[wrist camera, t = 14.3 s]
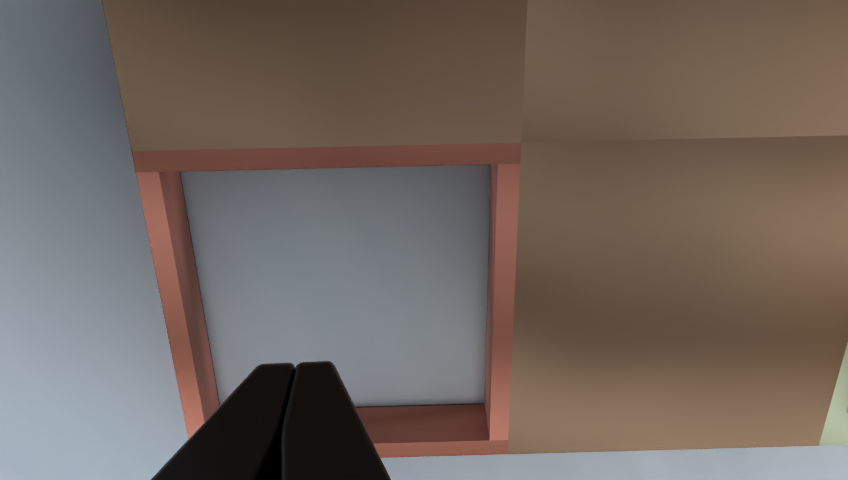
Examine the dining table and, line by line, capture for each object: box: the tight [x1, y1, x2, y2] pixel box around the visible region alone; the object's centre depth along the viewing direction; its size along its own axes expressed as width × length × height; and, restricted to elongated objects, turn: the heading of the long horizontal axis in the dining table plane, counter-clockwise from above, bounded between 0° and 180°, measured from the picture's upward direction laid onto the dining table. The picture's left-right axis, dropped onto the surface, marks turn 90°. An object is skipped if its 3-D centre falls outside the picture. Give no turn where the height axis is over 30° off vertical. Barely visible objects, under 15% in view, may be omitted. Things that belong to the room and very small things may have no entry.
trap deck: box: [102, 0, 848, 458], centre depth 18 cm, size 18×26×2 cm
